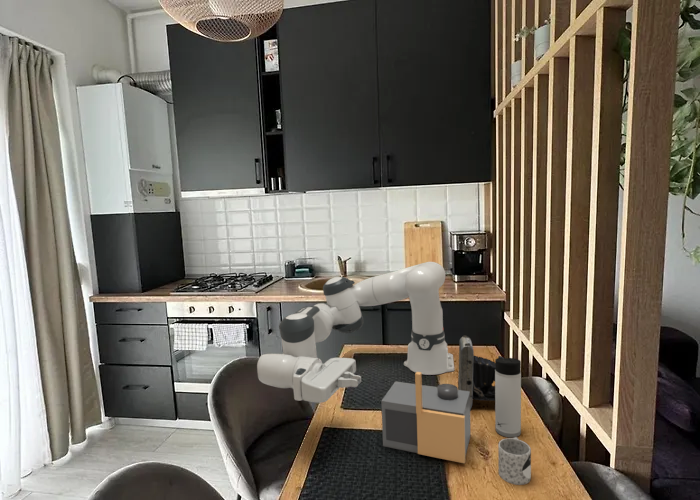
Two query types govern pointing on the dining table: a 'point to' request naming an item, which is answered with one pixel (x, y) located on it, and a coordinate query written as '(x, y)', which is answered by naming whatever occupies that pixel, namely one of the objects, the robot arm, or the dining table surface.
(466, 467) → the dining table surface
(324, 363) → the robot arm
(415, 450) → the housing
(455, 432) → the side door
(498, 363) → the travel mug
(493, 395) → the vintage camera
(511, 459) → the mug
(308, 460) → the dining table surface
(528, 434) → the dining table surface
